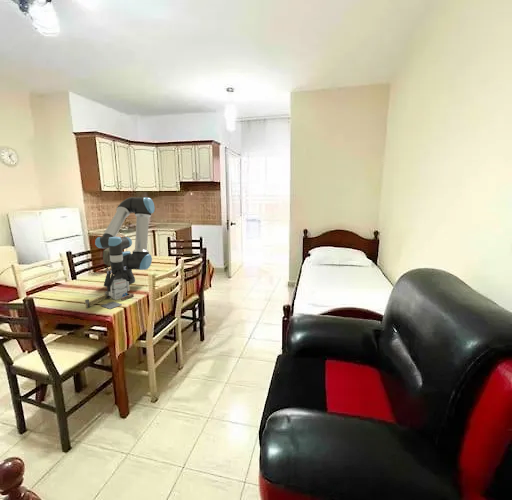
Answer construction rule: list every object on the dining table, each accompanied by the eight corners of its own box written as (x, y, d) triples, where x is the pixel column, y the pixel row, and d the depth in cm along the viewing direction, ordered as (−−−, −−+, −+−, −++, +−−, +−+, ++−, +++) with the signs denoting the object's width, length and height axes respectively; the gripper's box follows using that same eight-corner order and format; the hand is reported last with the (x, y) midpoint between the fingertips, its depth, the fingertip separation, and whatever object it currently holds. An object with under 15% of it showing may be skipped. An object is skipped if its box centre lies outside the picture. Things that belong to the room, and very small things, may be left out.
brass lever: (110, 296, 199) (110, 290, 198) (88, 307, 180) (87, 300, 180) (107, 296, 199) (106, 289, 198) (84, 307, 181) (83, 300, 180)
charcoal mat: (112, 301, 191) (112, 301, 191) (122, 304, 187) (122, 304, 187) (101, 306, 184) (101, 305, 184) (110, 309, 180) (110, 308, 180)
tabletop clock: (119, 266, 275) (117, 238, 270) (125, 267, 270) (123, 240, 265) (104, 269, 264) (101, 241, 258) (109, 271, 259) (107, 242, 253)
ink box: (123, 294, 204) (122, 278, 201) (127, 296, 201) (126, 279, 198) (111, 298, 197) (109, 281, 195) (115, 300, 194) (113, 282, 192)
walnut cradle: (119, 292, 208) (119, 285, 207) (133, 296, 201) (133, 289, 199) (102, 298, 197) (101, 291, 196) (116, 302, 190) (115, 295, 189)
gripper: (128, 256, 206) (131, 287, 211) (95, 264, 186) (98, 297, 190) (136, 258, 203) (138, 289, 207) (102, 265, 182) (106, 299, 187)
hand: (119, 293), depth 199 cm, fingers open, 12 cm apart
